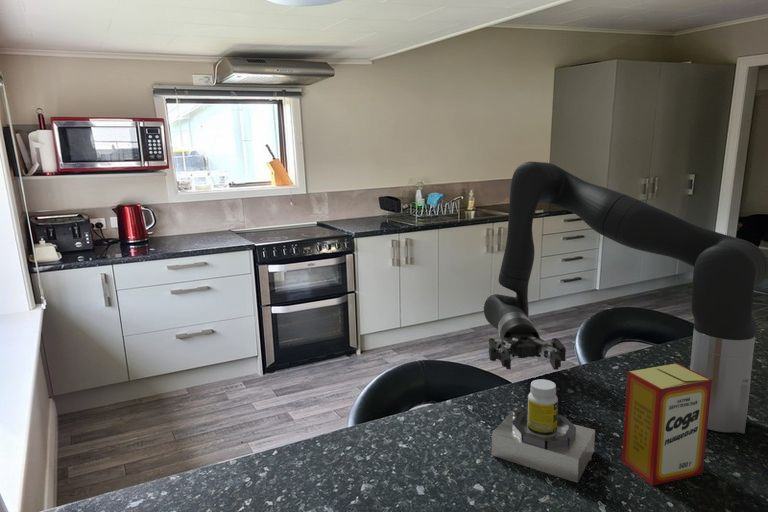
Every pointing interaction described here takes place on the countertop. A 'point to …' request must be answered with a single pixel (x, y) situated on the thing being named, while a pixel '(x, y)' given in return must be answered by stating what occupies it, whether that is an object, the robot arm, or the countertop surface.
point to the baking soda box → (666, 422)
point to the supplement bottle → (542, 408)
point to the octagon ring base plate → (544, 446)
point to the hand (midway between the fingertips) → (532, 364)
